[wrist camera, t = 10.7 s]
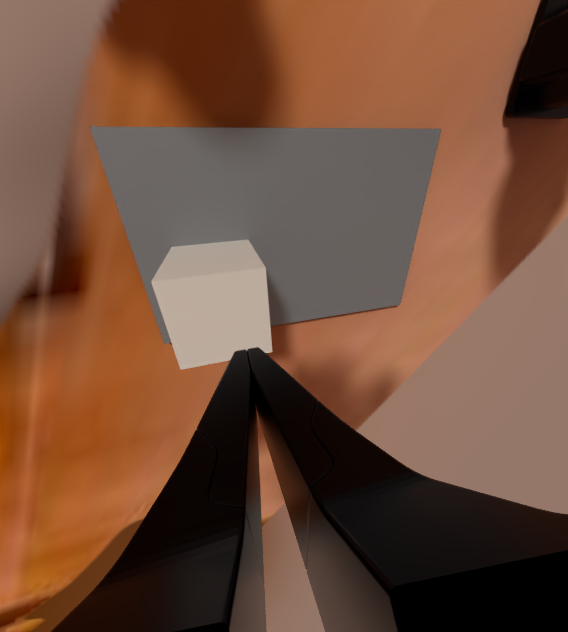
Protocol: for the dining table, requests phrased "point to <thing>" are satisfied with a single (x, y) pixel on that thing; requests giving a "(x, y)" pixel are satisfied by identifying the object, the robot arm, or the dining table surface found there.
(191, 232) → the board
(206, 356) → the white rectangular block
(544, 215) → the dining table surface
